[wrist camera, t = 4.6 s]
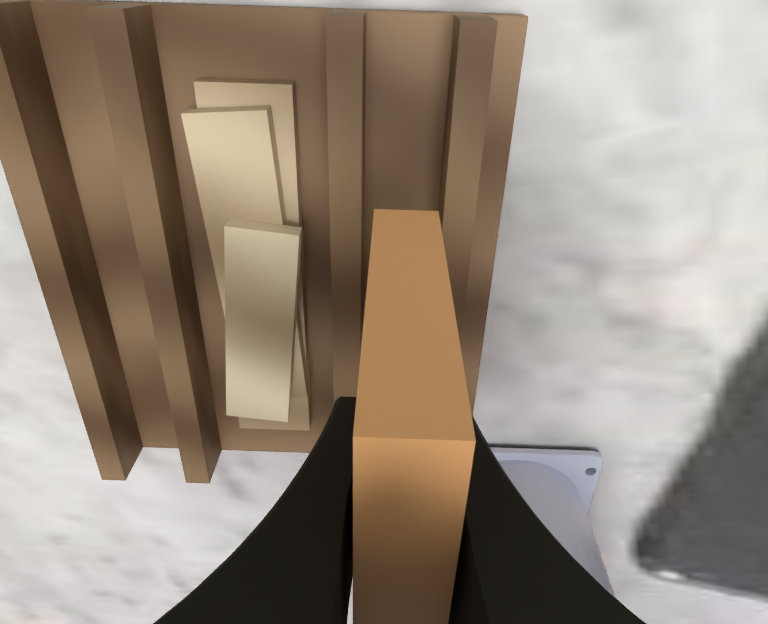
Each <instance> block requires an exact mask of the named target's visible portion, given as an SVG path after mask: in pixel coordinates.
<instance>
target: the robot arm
mask: <svg viewBox="0 0 768 624" xmlns="http://www.w3.org/2000/svg"><path fill="white" fill-rule="evenodd" d="M356 398H357V397H344V396H340V397H339V398H338V399H337V400H336V401H335V404H334V407H333V409H332V412H331V414H330V416H329V419H328V421H327V423H326V425H325V427H324V429H323V431H322V433H321V435H320V437H319V438H318V440H317V442H316V444H315V445H314V447H313V449H312V450H311V452H310V454H309V456H308V457H307V459H306V461H305V462H304V464H303V465H302V467H301V468H300V470H299V471H298V473H297V474H296V476H295V477H294V479H293V480H292V482H291V483H290V485H289V486H288V487H287V489H286V490H285V492H284V493H283V494H282V496H281V497H280V498H279V500H278V501H277V502H276V504H275V505H274V506H273V508H272V509H271V510H270V511H269V513H268V514H267V515H266V516H265V517H264V519H263V520H262V521H261V522H260V523H259V525H258V526H257V527H256V528H255V529H254V530H253V531H252V533H251V534H250V535H249V536H248V537H247V538H246V539H245V540H244V541H243V543H242V544H241V545H240V546H239V547H238V548H237V549H236V550H235V551H234V552H233V553H232V554H231V555H230V556H229V557H228V558H227V559H226V560H225V561H224V562H223V563H222V564H221V565H220V566H219V567H218V568H217V569H216V570H215V571H214V572H213V573H212V574H210V575H209V576H208V577H207V578H206V579H205V580H204V581H203V582H202V583H201V584H200V585H199V586H198V587H197V588H196V589H195V590H193V591H192V592H191V593H190V594H189V595H188V596H187V597H185V598H184V599H183V600H182V601H181V602H179V603H178V604H177V605H176V606H174V607H173V608H172V609H171V610H169V611H168V612H167V613H166V614H165V615H163V616H162V617H161V618H160V619H158V620H157V621H156V622H155V623H153V624H347V615H348V606H349V598H350V591H351V584H352V578H353V430H354V419H355V408H356ZM471 414H472V413H471ZM472 421H473V427H474V433H475V439H476V443H475V450H474V456H473V463H472V470H471V476H470V483H469V489H468V496H467V503H466V509H465V516H464V522H463V529H462V536H461V542H460V549H459V555H458V562H457V569H456V575H455V582H454V588H453V595H452V602H451V608H450V615H449V621H448V624H646V623H644V622H643V621H642V620H641V619H639V618H638V617H637V616H636V615H634V614H633V613H632V612H631V611H630V610H628V609H627V608H626V607H625V606H624V605H623V604H622V603H620V602H619V601H618V600H617V599H616V598H615V595H614V592H613V589H612V587H611V584H610V581H609V578H608V575H607V572H606V569H605V566H604V563H603V561H602V558H601V555H600V552H599V549H598V546H597V543H596V540H595V537H594V534H593V532H592V529H591V526H590V523H589V520H588V517H587V514H588V511H589V508H590V505H591V501H592V498H593V495H594V492H595V489H596V485H597V482H598V479H599V476H600V473H601V469H602V466H603V458H602V456H601V454H600V453H599V452H597V451H585V450H556V449H527V448H498V447H489V445H488V444H487V442H486V440H485V438H484V437H483V435H482V433H481V431H480V429H479V427H478V425H477V424H476V422H475V420H474V418H473V415H472ZM588 468H591V469H588Z"/></svg>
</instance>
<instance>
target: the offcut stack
mask: <svg viewBox="0 0 768 624" xmlns="http://www.w3.org/2000/svg"><path fill="white" fill-rule="evenodd" d="M193 82H194V90H195V97H196V104H197V108H191V109H187V110H185V111H184V112H182V113H181V117H182V121H183V126H184V130H185V135H186V140H187V144H188V149H189V154H190V158H191V163H192V168H193V172H194V177H195V181H196V186H197V191H198V195H199V200H200V205H201V209H202V214H203V219H204V223H205V228H206V232H207V237H208V242H209V246H210V251H211V256H212V260H213V265H214V270H215V274H216V279H217V283H218V288H219V293H220V297H221V302H222V307H223V311H224V316H225V348H226V415H228V416H236V417H238V418H239V425H240V428H248V429H278V430H307V431H310V427H311V421H312V413H311V392H310V371H309V350H308V330H307V309H306V288H305V267H304V246H303V226H302V205H301V184H300V163H299V142H298V122H297V101H296V81H287V80H257V79H227V78H199V79H197V80H195V81H193Z"/></svg>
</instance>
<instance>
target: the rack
mask: <svg viewBox="0 0 768 624" xmlns="http://www.w3.org/2000/svg"><path fill="white" fill-rule="evenodd" d="M527 23H528V16H525V15H523V14H498V13H467V12H437V11H406V10H376V9H345V8H315V7H284V6H254V5H223V4H193V3H162V2H132V1H101V0H0V159H1V163H2V166H3V169H4V172H5V175H6V178H7V181H8V185H9V188H10V191H11V194H12V197H13V200H14V204H15V207H16V210H17V213H18V216H19V219H20V222H21V226H22V229H23V232H24V235H25V238H26V241H27V245H28V248H29V251H30V254H31V257H32V260H33V263H34V267H35V270H36V273H37V276H38V279H39V282H40V285H41V289H42V292H43V295H44V298H45V301H46V304H47V308H48V311H49V314H50V317H51V320H52V323H53V326H54V330H55V333H56V336H57V339H58V342H59V345H60V349H61V352H62V355H63V358H64V361H65V364H66V367H67V371H68V374H69V377H70V380H71V383H72V386H73V390H74V393H75V396H76V399H77V402H78V405H79V408H80V412H81V415H82V418H83V421H84V424H85V427H86V431H87V434H88V437H89V440H90V443H91V446H92V449H93V453H94V456H95V459H96V462H97V465H98V468H99V471H100V475H101V478H102V480H126V478H127V477H128V475H129V473H130V471H131V469H132V467H133V465H134V463H135V461H136V459H137V458H138V456H139V454H140V452H141V450H142V448H143V447H158V448H179V451H180V456H181V461H182V465H183V470H184V475H185V480H186V483H210V481H211V478H212V475H213V472H214V470H215V467H216V464H217V461H218V458H219V456H220V453H221V450H245V451H274V452H303V453H310V452H311V450H312V449H313V447H314V445H315V444H316V442H317V440H318V438H319V437H320V435H321V433H322V431H323V429H324V427H325V425H326V423H327V421H328V419H329V416H330V414H331V412H332V409H333V407H334V404H335V401H336V400H337V399H338V398H339V397H340V396H344V397H357V387H358V376H359V366H360V355H361V344H362V334H363V323H364V312H365V302H366V291H367V280H368V269H369V259H370V248H371V237H372V227H373V216H374V209H391V210H421V211H439V217H440V223H441V229H442V235H443V242H444V248H445V254H446V260H447V266H448V272H449V279H450V285H451V291H452V297H453V303H454V310H455V316H456V322H457V328H458V334H459V340H460V347H461V353H462V359H463V365H464V371H465V377H466V384H467V390H468V396H469V402H470V408H471V413H472V415H473V408H474V401H475V394H476V387H477V380H478V372H479V365H480V358H481V351H482V344H483V337H484V330H485V322H486V315H487V308H488V301H489V294H490V287H491V280H492V272H493V265H494V258H495V251H496V244H497V237H498V230H499V223H500V215H501V208H502V201H503V194H504V187H505V180H506V173H507V165H508V158H509V151H510V144H511V137H512V130H513V123H514V116H515V108H516V101H517V94H518V87H519V80H520V73H521V66H522V58H523V51H524V44H525V37H526V30H527ZM199 78H227V79H257V80H287V81H296V101H297V122H298V142H299V163H300V184H301V205H302V226H303V246H304V267H305V288H306V309H307V330H308V350H309V371H310V392H311V413H312V421H311V427H310V431H307V430H278V429H248V428H240V425H239V418H238V417H236V416H228V415H226V348H225V316H224V311H223V307H222V302H221V297H220V293H219V288H218V283H217V279H216V274H215V270H214V265H213V260H212V256H211V251H210V246H209V242H208V237H207V232H206V228H205V223H204V219H203V214H202V209H201V205H200V200H199V195H198V191H197V186H196V181H195V177H194V172H193V168H192V163H191V158H190V154H189V149H188V144H187V140H186V135H185V130H184V126H183V121H182V117H181V113H182V112H184V111H185V110H187V109H191V108H197V104H196V97H195V90H194V82H193V81H195V80H197V79H199Z"/></svg>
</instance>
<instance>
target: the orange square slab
mask: <svg viewBox="0 0 768 624" xmlns="http://www.w3.org/2000/svg"><path fill="white" fill-rule="evenodd" d="M475 443H476V439H475V433H474V427H473V421H472V414H471V408H470V402H469V396H468V390H467V384H466V377H465V371H464V365H463V359H462V353H461V347H460V340H459V334H458V328H457V322H456V316H455V310H454V303H453V297H452V291H451V285H450V279H449V272H448V266H447V260H446V254H445V248H444V242H443V235H442V229H441V223H440V217H439V211H421V210H391V209H374V216H373V227H372V237H371V248H370V259H369V269H368V280H367V291H366V302H365V312H364V323H363V334H362V344H361V355H360V366H359V376H358V387H357V398H356V408H355V419H354V430H353V624H448V621H449V615H450V608H451V602H452V595H453V588H454V582H455V575H456V569H457V562H458V555H459V549H460V542H461V536H462V529H463V522H464V516H465V509H466V503H467V496H468V489H469V483H470V476H471V470H472V463H473V456H474V450H475Z"/></svg>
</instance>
